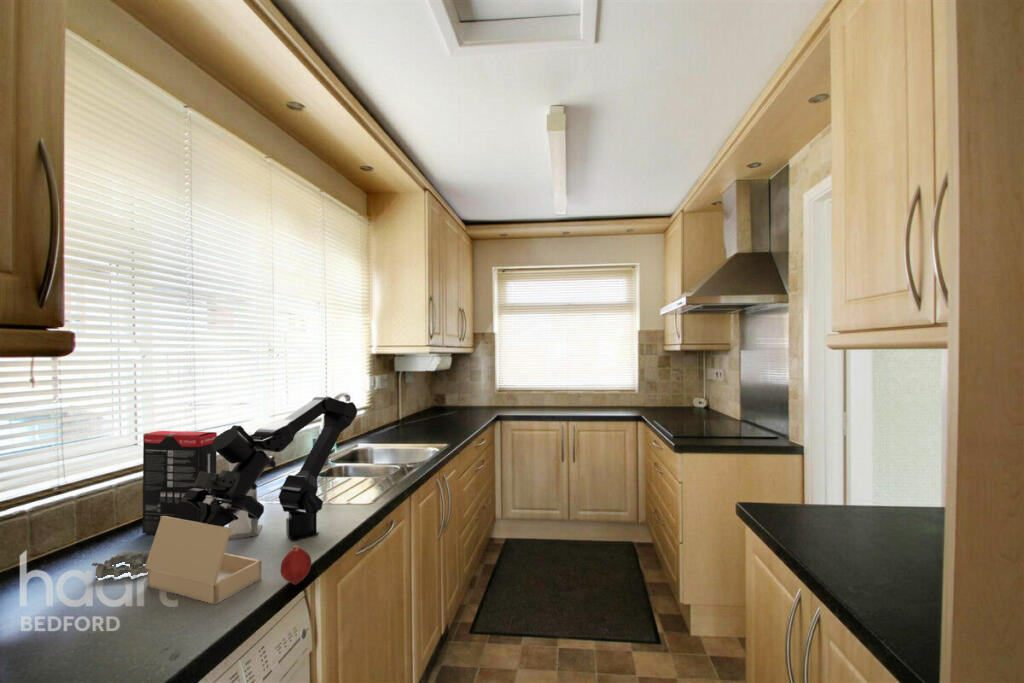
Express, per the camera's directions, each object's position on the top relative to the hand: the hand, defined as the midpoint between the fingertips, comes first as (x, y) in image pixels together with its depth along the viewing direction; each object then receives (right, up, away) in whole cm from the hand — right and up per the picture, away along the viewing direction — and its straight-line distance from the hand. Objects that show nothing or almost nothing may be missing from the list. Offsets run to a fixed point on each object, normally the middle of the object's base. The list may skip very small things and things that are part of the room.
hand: (195, 542), depth 90 cm
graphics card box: (-25, -11, +28) cm, 39 cm away
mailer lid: (0, -1, -1) cm, 1 cm away
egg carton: (-20, -10, +7) cm, 23 cm away
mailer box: (+1, -10, +2) cm, 10 cm away
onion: (+20, -10, +1) cm, 22 cm away
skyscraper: (-7, -10, +28) cm, 30 cm away
